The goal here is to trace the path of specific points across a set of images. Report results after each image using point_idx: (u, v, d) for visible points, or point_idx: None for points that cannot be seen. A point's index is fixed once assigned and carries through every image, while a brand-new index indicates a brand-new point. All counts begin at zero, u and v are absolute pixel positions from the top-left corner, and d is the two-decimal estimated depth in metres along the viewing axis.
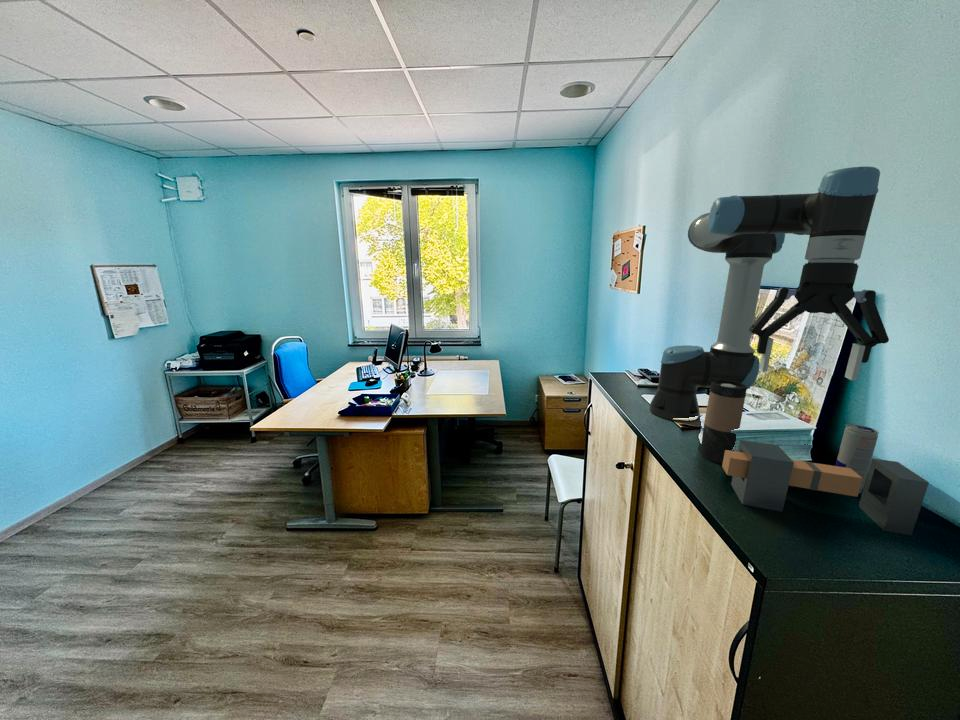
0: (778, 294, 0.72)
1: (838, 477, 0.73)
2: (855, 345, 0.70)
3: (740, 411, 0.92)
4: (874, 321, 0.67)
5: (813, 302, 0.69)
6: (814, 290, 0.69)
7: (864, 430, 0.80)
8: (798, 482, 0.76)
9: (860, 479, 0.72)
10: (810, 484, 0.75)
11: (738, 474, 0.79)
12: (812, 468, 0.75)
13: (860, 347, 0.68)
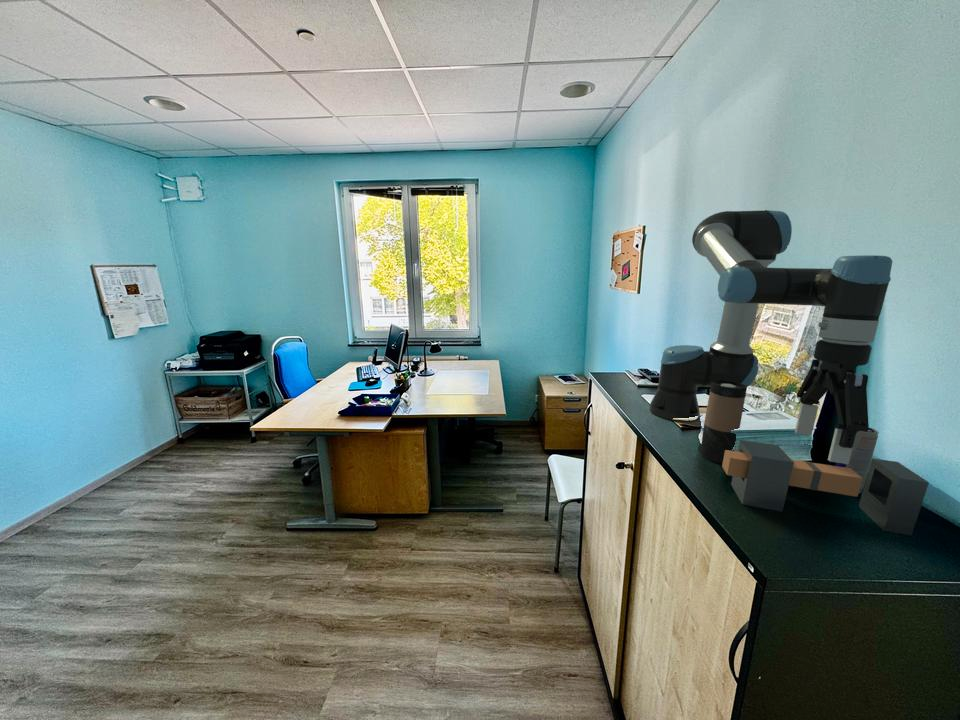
0: None
1: (838, 477, 0.73)
2: None
3: (740, 411, 0.92)
4: (846, 405, 0.66)
5: (818, 375, 0.74)
6: (825, 365, 0.73)
7: None
8: (798, 482, 0.76)
9: (860, 479, 0.72)
10: (810, 484, 0.75)
11: (738, 474, 0.79)
12: (812, 468, 0.75)
13: (836, 428, 0.68)
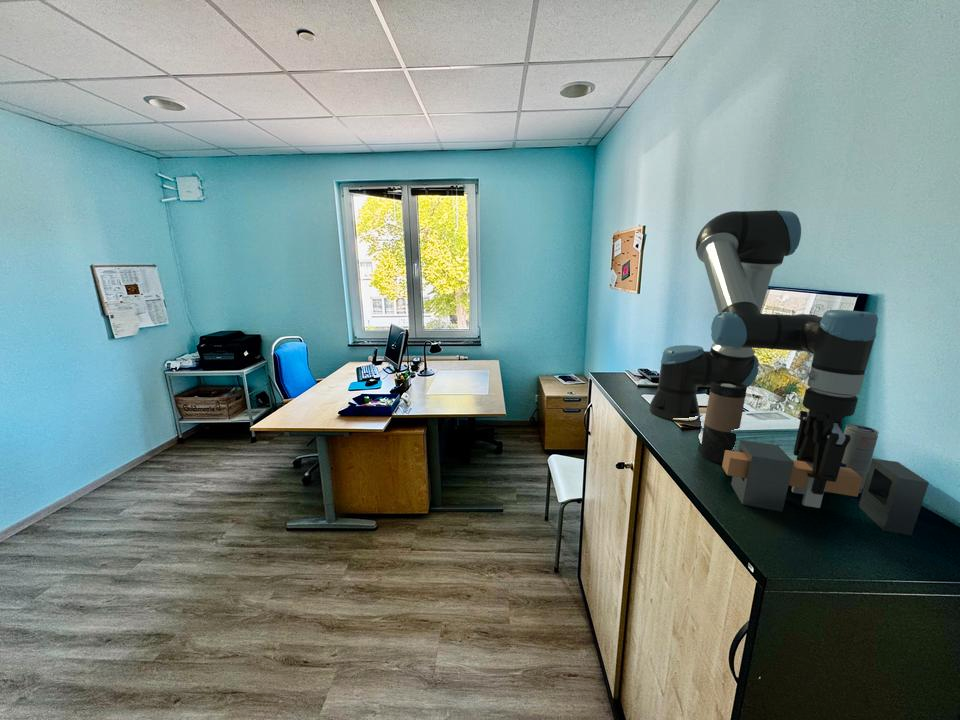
0: None
1: (838, 477, 0.73)
2: None
3: (740, 411, 0.92)
4: (823, 457, 0.71)
5: (808, 423, 0.76)
6: None
7: (864, 430, 0.80)
8: (798, 482, 0.76)
9: (860, 479, 0.72)
10: None
11: (738, 474, 0.79)
12: (812, 468, 0.75)
13: None
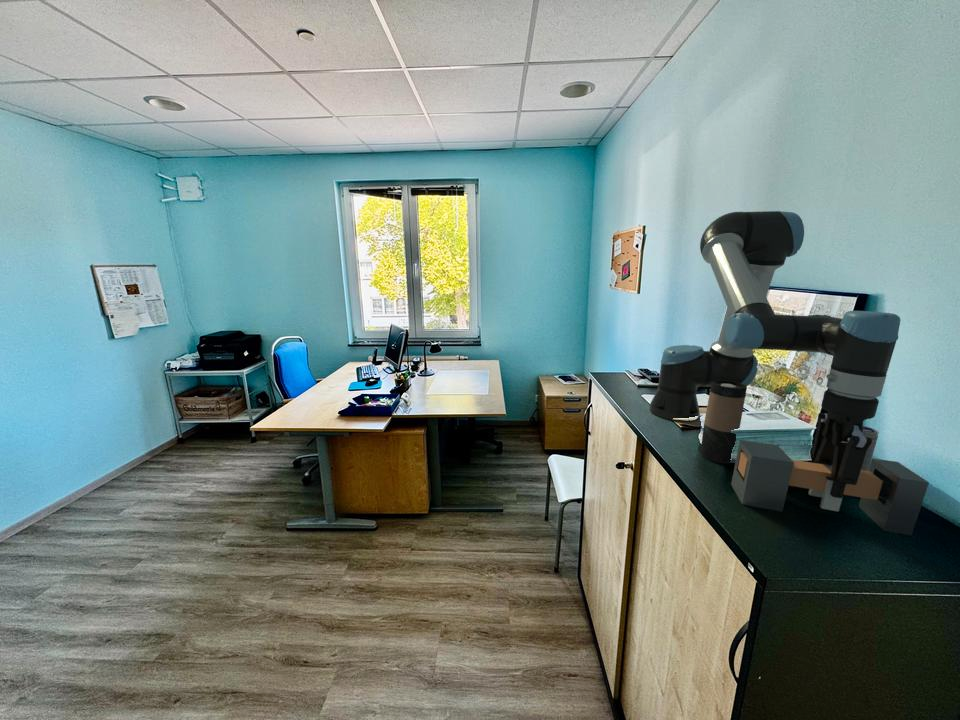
0: None
1: (858, 479, 0.72)
2: None
3: (740, 411, 0.92)
4: (842, 460, 0.70)
5: (826, 425, 0.75)
6: None
7: (864, 430, 0.80)
8: (816, 485, 0.75)
9: (880, 482, 0.71)
10: None
11: None
12: (831, 471, 0.74)
13: None
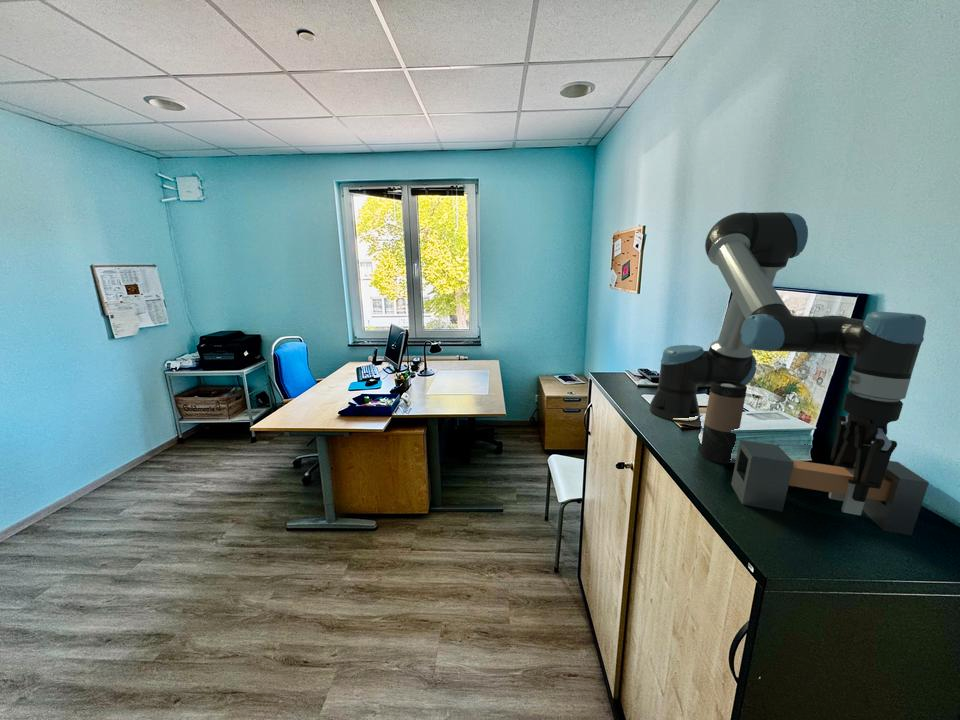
0: None
1: None
2: None
3: (740, 411, 0.92)
4: (866, 464, 0.69)
5: (848, 428, 0.74)
6: None
7: None
8: (838, 489, 0.74)
9: None
10: None
11: None
12: (853, 474, 0.73)
13: None
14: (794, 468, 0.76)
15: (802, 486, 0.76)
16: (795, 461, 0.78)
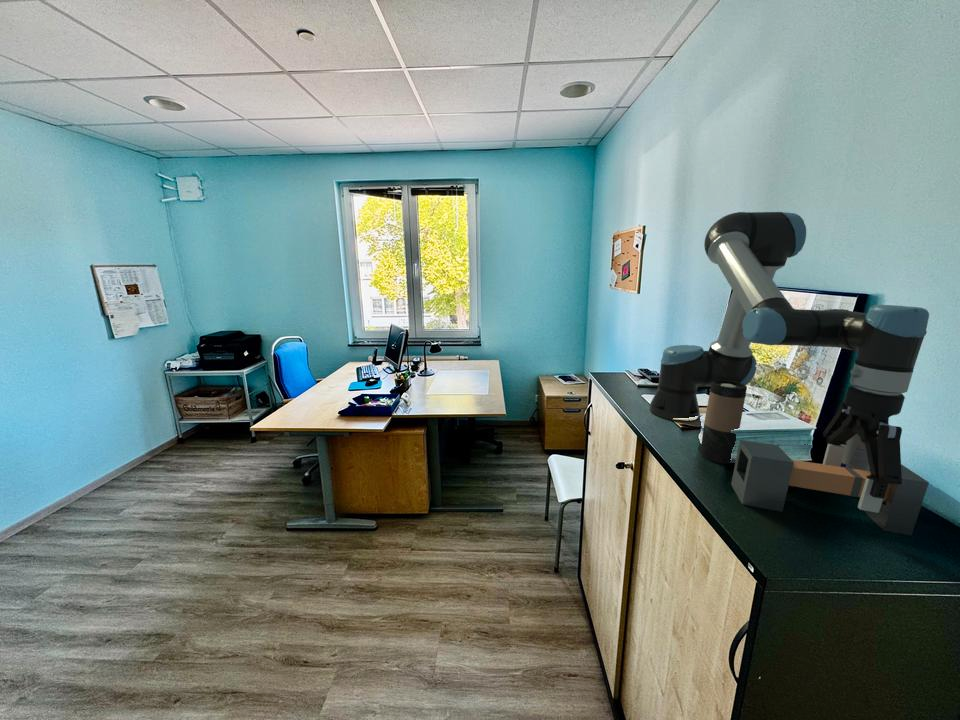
0: None
1: None
2: None
3: (740, 411, 0.92)
4: (879, 456, 0.66)
5: (848, 420, 0.74)
6: (855, 411, 0.73)
7: None
8: (838, 489, 0.74)
9: None
10: (851, 491, 0.73)
11: None
12: (853, 474, 0.73)
13: (867, 477, 0.68)
14: (794, 468, 0.76)
15: (803, 486, 0.76)
16: (795, 461, 0.78)
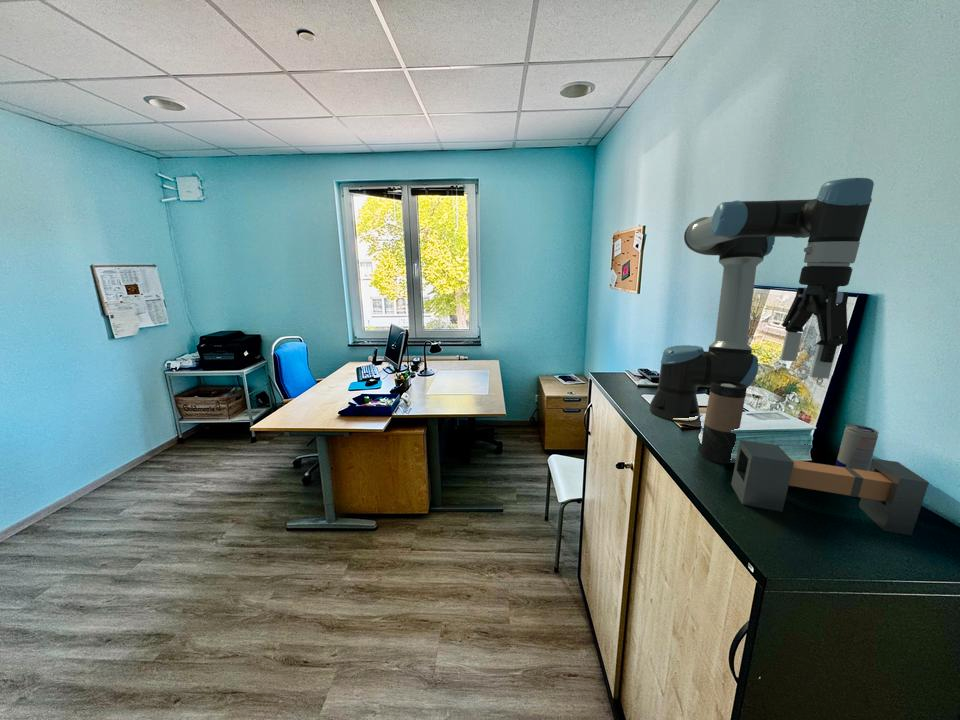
0: None
1: (881, 483, 0.71)
2: None
3: (740, 411, 0.92)
4: (828, 321, 0.70)
5: (802, 301, 0.78)
6: (809, 290, 0.77)
7: (864, 430, 0.80)
8: (838, 489, 0.74)
9: None
10: (851, 491, 0.73)
11: None
12: (853, 474, 0.73)
13: (817, 345, 0.72)
14: (794, 468, 0.76)
15: (803, 486, 0.76)
16: (795, 461, 0.78)
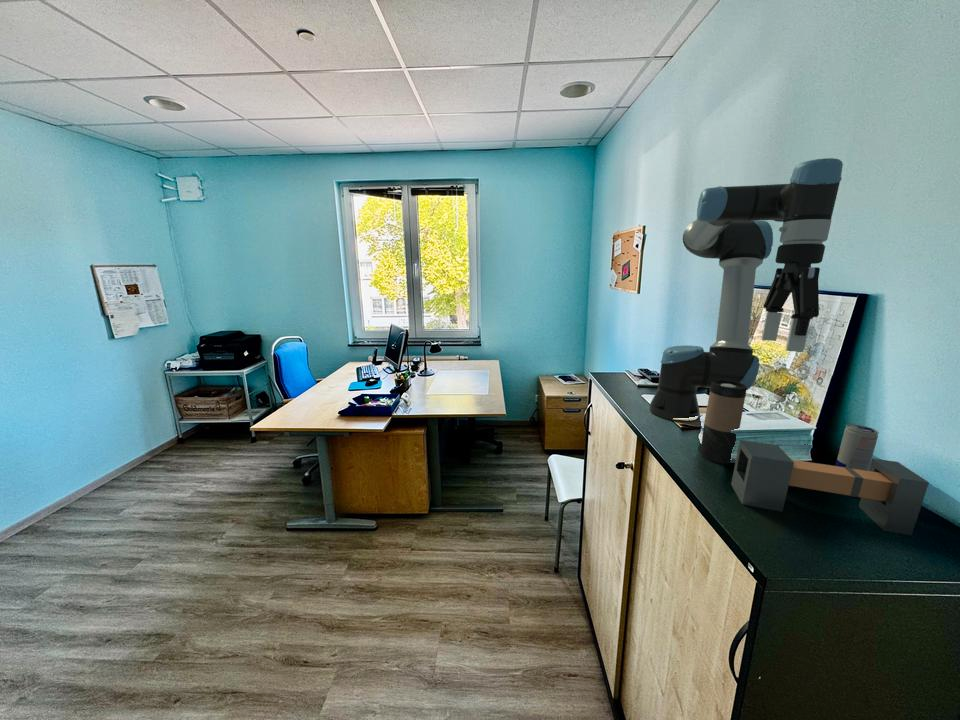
0: None
1: (881, 483, 0.71)
2: None
3: (740, 411, 0.92)
4: (800, 295, 0.73)
5: (779, 279, 0.81)
6: (786, 269, 0.80)
7: (864, 430, 0.80)
8: (838, 489, 0.74)
9: None
10: (851, 491, 0.73)
11: None
12: (853, 474, 0.73)
13: (792, 319, 0.75)
14: (794, 468, 0.76)
15: (803, 486, 0.76)
16: (795, 461, 0.78)
